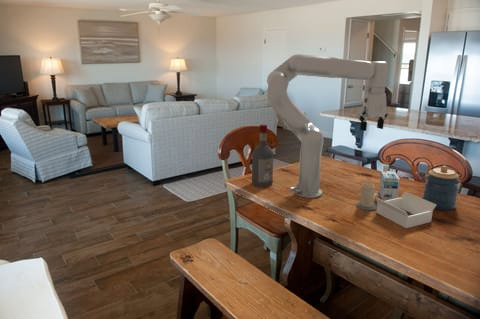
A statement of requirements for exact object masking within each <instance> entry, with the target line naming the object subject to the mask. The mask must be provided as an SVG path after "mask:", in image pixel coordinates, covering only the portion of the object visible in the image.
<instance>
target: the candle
mask: <svg viewBox="0 0 480 319" xmlns="http://www.w3.org/2000/svg"><path fill="white" fill-rule="evenodd" d="M375 191H376V186H375V185H374V183H372V182H368V181H365V182H363V183H362V184H361V185H360V196H359V198H360V199H359V202H360V205H361V206H364V207H372V206H373V203H374V201H375V193H376V192H375Z"/></svg>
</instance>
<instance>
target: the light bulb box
mask: <svg viewBox="0 0 480 319" xmlns="http://www.w3.org/2000/svg"><path fill="white" fill-rule="evenodd" d="M400 182H401V177H399V175H398V174H397V172H396V171H390V170H380V178H379V187H378V193H379V195H380V199H381V200H383V201H386V200H391V199H396V198H399V193H400V192H399V191H400V184H401V183H400Z"/></svg>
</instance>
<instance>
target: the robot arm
mask: <svg viewBox="0 0 480 319" xmlns="http://www.w3.org/2000/svg"><path fill="white" fill-rule="evenodd" d="M388 66H389V65H388V62H387V61H382V60H380V61H379V60H378V61H377V60H376V61H366V60H354V59H345V58H339V57H333V56H325V55H324V56H322V55H313V54H312V55H310V54H301V53H300V54H297V53H296V54H293V55H291V56H290V57H289V58H287V60H285V61H284V62H283V63H281V64H279V66H278V67H276V68H275V69H273V70H272V71H271V72H270V73H269V74H268V75H267V79H266V82H267V85H268V86H267V89H266V90H267V91H266V96H267V100H268V103H269V106H270V107H271V108H272V110H273V111H274V112H275V113H276V114H277V116H279V117H280V119H281V120H282V121H283V123H284V125H286V127H287V128H288V129H289V130H290V131H291V132H292V133H293V134H294V136H296V138H297V139H298V140H299V141H300V142H301V145H300V152H299V168H298V169H299V170H298V172H299V173H298V183H296V185H295V186H291V187H289V192H291V193H292V192H294V194H295V195H297V196H298V197H302V198H306V199H316V198H320V197H321V196H323V190H322V189H320V184H321V183H320V181H321V180H320V179H321V165H322V164H321V163H322V152H323V146H324V141H325V140H324V135H323V133H322V131H321V130H320V129H319V128H318V127H317V126H316V125H314V123H313V122H312V121H311V120H310V119H309V118H308V117H307V116H306V114H305V112H303V110H302V109H300V108H299V107H298V106H297V105H296V104H295V102H293V100H292V99H291V97H290V96H289V95H288V88H289V83H290V82H291V81H292V80H293V79H295V78H296V77H298V76H306V77H316V78H317V77H319V78H330V79H347V80H360V81H366V82H367V83H366V88H365V94H364V97H363V103H362V108H360V109H359V110H358V111H356V114H357V117H358V119H359V121H360V128H359V130H360V131H363V132H364V131H365V132H366V131H367V128H368V126H367V125H368V122H367V121H368V119H369V118H370V119H371V118H373V119H374V118H378V119H377V124H376V128H377V129H380V130H383V129H384V125H385V124H384V123H385V121H386V118H387V117H388V114H389V113H390V109H388V108H387V94H386V93H385V92H386V84H387V83H386V82H387V76H388V75H387V74H388Z"/></svg>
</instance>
